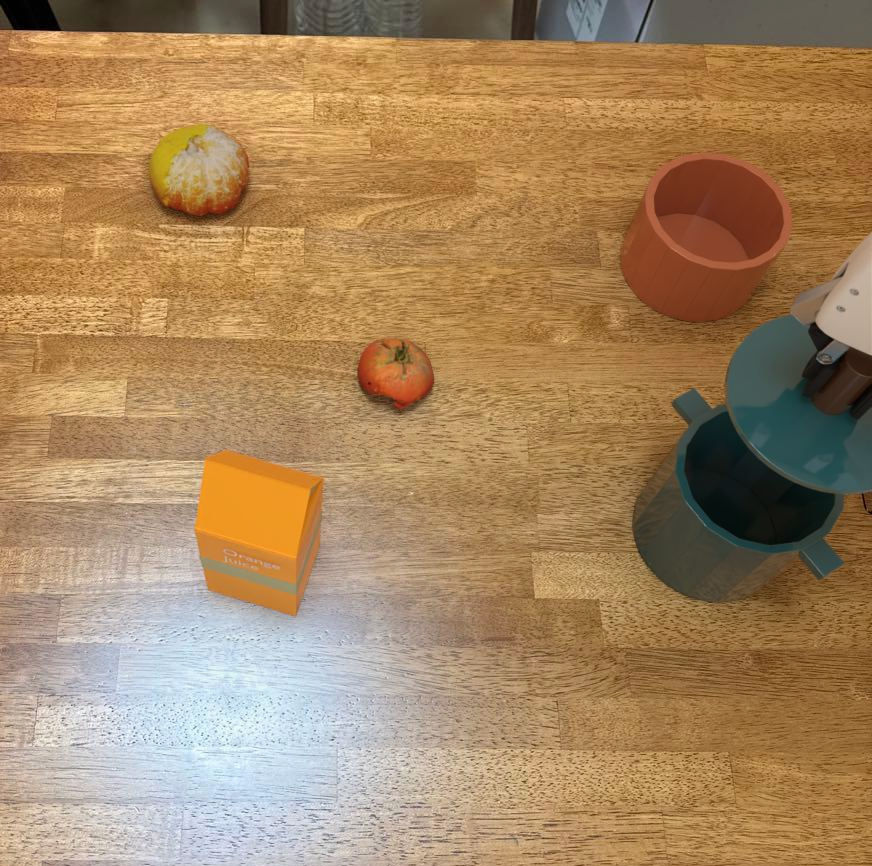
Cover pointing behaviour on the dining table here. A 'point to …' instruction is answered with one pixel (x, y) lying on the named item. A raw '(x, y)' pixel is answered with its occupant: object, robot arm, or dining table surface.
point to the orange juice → (258, 529)
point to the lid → (801, 409)
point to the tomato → (396, 371)
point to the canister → (704, 236)
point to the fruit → (199, 170)
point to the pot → (727, 513)
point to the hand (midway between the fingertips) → (836, 391)
